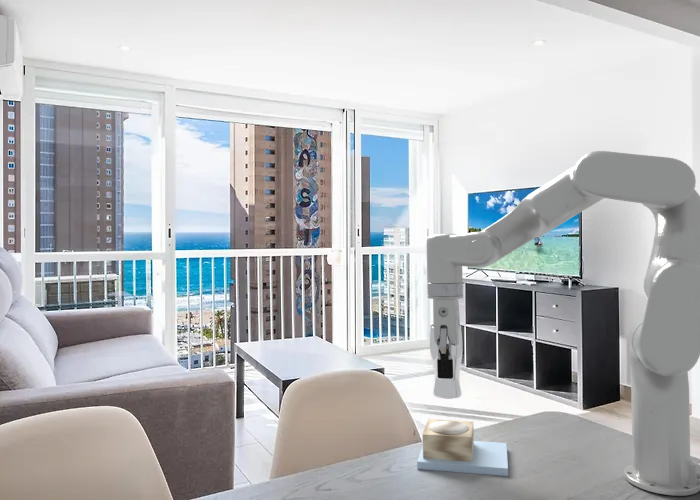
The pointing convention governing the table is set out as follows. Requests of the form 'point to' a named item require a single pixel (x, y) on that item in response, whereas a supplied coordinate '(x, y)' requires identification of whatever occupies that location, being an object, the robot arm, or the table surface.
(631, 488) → the table surface
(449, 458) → the plinth
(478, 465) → the blueprint board
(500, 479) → the table surface
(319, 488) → the table surface
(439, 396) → the beer glass
